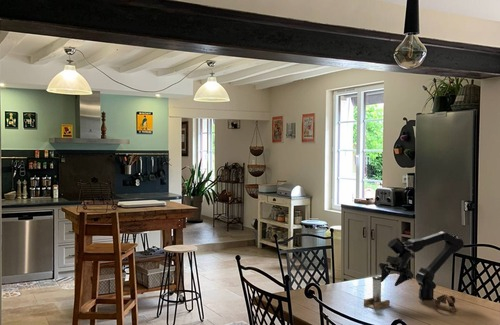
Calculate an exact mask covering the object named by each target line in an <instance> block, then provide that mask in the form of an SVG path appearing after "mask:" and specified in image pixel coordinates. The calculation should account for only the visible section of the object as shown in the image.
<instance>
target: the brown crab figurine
mask: <svg viewBox="0 0 500 325" xmlns="http://www.w3.org/2000/svg"><path fill="white" fill-rule="evenodd" d="M432 301H433V302H434V304H433V306H435V307H436V308H438V307H441V303H442V304H444V305H446V304H447V303H448V306H449V307H450V308H449V309H450V311H451V313H454V312H455V311H456V310H457V309H456V306H455V303H456V298H455V297H454V296H453V295H450V296H448V294H442V295H440V296H437V297H436V298H434V300H432Z"/></svg>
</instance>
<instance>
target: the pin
mask: <svg viewBox="0 0 500 325" xmlns="http://www.w3.org/2000/svg"><path fill="white" fill-rule="evenodd" d="M371 279H372V298H373V305H374V303H376V302H381V301H382V282H381V275H373V276H371Z"/></svg>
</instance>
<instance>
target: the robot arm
mask: <svg viewBox="0 0 500 325" xmlns="http://www.w3.org/2000/svg"><path fill="white" fill-rule="evenodd" d="M441 241H443V242H444V243H445V244H444V248H443V249H442V250H441V251H440V253H438V255H437V256H436V257H435V258H434V259H433V261H431V263H429V265H428V266H427V267H425V268H424V267H420V268H419V270H418V271H417V272H416V275H415V280H416V282H417V283H418V284H417V285H418V286H419V288H418V297H419V298H420V299H421V300H423V301H433V300H434V299H435V298H434V290H435V289H436V288H437V284H436V283H435V282H434V281H433V280H434V279H435V274H436V273H437V272H438V271H439V269H440V268H441V267H442V266H443V265H444V264H445V263H446V262H447V261H448V260H449V258H450V257H451V256H452V255H453V254H455V253H458V252H459V251H460V250H462V249H463V248H464V246H465V245H464V243H465V242H464V241H463V239H462V238H459V237H455V236H453V235H451V234H449V233H448V232H446V231H438V232H437V233H433V234H431V235H427V236H424V237H422V238H412V239H411V238H410V239H407V240H406V241H403V242H402V240H401V239H400V238H399V237H395V238H393V239H391V240H390V241H388V244H387V247H388V248H389V249H390V250H391V251H392V252H393V253H394V254H395V255H396V256H391V255H387V257H386V262H380V263H379V264H378V267H379V269H380V270H381V275H380V277H381V283H383V282H384V281H385V280H386V279H387V278H388V276H389V275H390V273H391V272H393V273H399V274H398V275H399V276H398V277H397V279H396V281H395V282H394V286H395V287H397V286H399V285H401V284H403V283H405V282H406V281H409V280H411V281H412V280H413V278H414V273H413V271H411V269H410V268H407V267H408V263H409V261H410V259H415V258H416V257H415V253H418V252H420V251H421V250H423V249H424V248H425V247H427V246H430V245H434V244H436V243H439V242H441Z"/></svg>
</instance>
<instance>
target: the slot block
mask: <svg viewBox="0 0 500 325" xmlns="http://www.w3.org/2000/svg"><path fill="white" fill-rule="evenodd" d="M363 306H364V307H367V308H371V309H373V310H381V309H385V308H388V307H390V300H389V299H386V300H381V302H376V303H374V305H373V297H369V298H366V299H363Z"/></svg>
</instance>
